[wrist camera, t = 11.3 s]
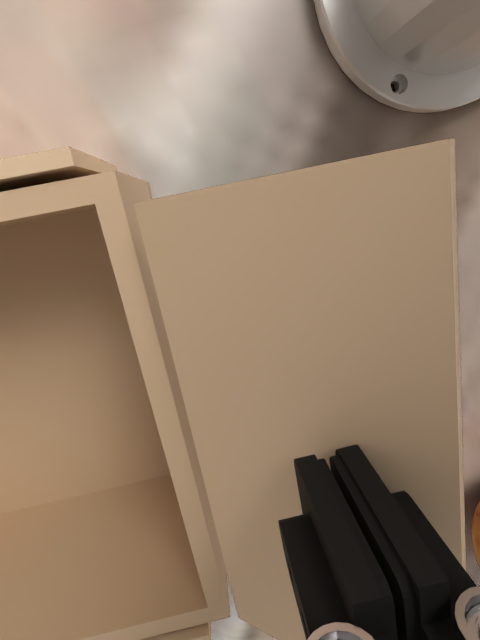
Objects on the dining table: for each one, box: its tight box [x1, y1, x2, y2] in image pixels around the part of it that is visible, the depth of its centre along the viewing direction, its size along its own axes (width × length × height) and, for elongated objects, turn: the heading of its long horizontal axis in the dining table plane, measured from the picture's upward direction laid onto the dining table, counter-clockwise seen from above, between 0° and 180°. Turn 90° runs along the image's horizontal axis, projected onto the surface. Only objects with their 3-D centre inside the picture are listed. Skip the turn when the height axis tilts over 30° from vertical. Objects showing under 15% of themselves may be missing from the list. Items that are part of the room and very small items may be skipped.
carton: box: [0, 147, 230, 640], centre depth 19 cm, size 16×20×10 cm
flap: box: [134, 138, 466, 640], centre depth 12 cm, size 1×16×8 cm
